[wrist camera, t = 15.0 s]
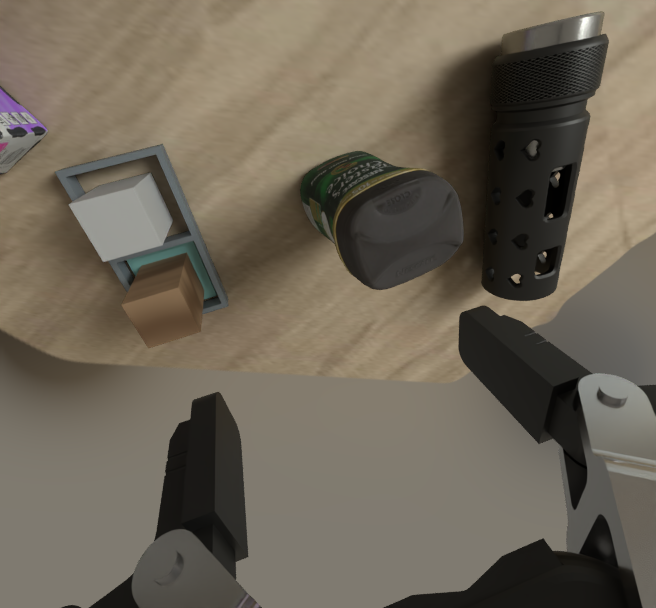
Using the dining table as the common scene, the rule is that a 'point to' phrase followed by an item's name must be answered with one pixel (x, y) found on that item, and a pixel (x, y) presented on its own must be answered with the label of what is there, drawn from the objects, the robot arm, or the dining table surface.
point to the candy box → (16, 131)
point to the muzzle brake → (537, 150)
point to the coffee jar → (383, 217)
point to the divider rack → (139, 222)
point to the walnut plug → (165, 300)
